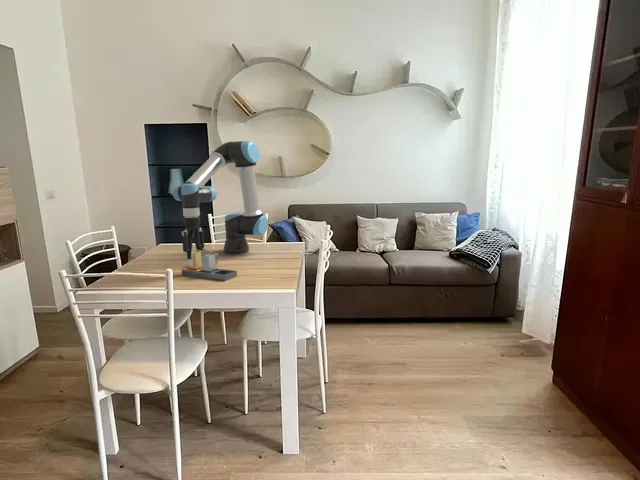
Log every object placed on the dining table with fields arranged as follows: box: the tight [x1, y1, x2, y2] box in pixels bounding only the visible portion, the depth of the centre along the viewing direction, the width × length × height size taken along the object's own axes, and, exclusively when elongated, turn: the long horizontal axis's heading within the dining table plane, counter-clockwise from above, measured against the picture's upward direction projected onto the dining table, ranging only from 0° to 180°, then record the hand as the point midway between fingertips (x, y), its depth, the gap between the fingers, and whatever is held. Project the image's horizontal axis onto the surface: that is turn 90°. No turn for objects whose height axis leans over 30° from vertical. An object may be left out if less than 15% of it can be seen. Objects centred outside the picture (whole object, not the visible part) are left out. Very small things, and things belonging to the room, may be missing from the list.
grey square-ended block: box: [201, 254, 217, 273], centre depth 200 cm, size 4×4×10 cm
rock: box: [201, 248, 220, 265], centre depth 219 cm, size 12×7×10 cm, turn 93°
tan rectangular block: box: [187, 249, 202, 271], centre depth 203 cm, size 4×4×10 cm
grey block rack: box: [181, 267, 238, 282], centre depth 200 cm, size 9×26×3 cm, turn 64°
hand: (195, 264), depth 204 cm, fingers closed on tan rectangular block, 4 cm apart
